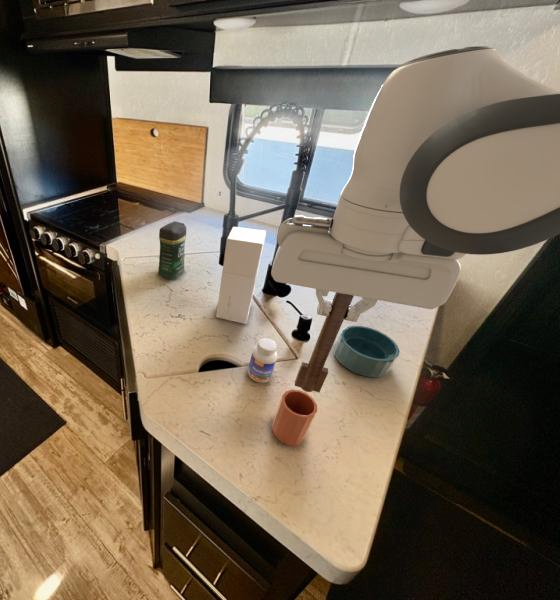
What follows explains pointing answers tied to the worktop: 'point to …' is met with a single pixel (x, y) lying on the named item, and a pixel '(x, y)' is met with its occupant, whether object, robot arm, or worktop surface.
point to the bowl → (366, 351)
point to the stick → (323, 346)
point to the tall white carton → (239, 273)
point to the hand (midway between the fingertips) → (336, 316)
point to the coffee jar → (172, 250)
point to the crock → (294, 417)
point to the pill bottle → (263, 360)
